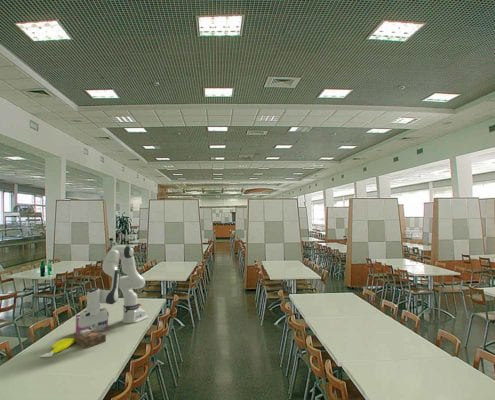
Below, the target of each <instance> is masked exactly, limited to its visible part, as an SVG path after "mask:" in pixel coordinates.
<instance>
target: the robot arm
mask: <svg viewBox="0 0 495 400" xmlns="http://www.w3.org/2000/svg"><path fill="white" fill-rule="evenodd" d="M134 253H135V249H134V248H133V246H131V245H123V244H122V245H121V244H120V245H112V246H109V247H108V248H107V250H106V256H105V257H104V260H103V263H102V271H103V273H105V274H106V275H107V276H110V277H111V287H110V289H100V288H99V287H91V288H90V289H88V291H87V293H86V303H87V306H86V309H85V310H82V311H81V312H79V315H80V318H79V322H78V326H79V327H80V328H84V327H87V326H90V328H91V331H93V330H96V327H97V325H98V323H99V322H103V321H106V320H107V319H108V320H109V316H108V317H107V312H108V308H105V307H102V308H101V304H108V305H115V303H116V302H118V300H119V289H120V290H121V292H122V295H123V296H122V297H123V304H122V305H123V306H122V307H123V309H122V310H123V313H122V319H121V323H123V324H131V323H132V324H133V323H134V324H136V323H140V322H141V321H144V320H146V319H147V318H149V315H147V314H146V311H145V310H144V309H142V307H141V306H142V303H138V294H137V293H136V292H134V290H133V289H135V290H138V289H143V287H144V286H145V285H146V279H145V278H144V277H143V276H142V275H141V274H140V273H139V272H138V270H137V266H136V262H135V260H136V259H135V257H134ZM119 263H120V264H121V271H122V273H123V274H125V275H122V276H121V271H120V270H119ZM93 324H94V325H95V326H94V327H92V326H93Z"/></svg>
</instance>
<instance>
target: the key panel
mask: <svg viewBox="0 0 495 400" xmlns="http://www.w3.org/2000/svg"><path fill="white" fill-rule="evenodd" d="M90 330H91V329H90ZM92 333H96V334H98V336H96V337H94V338H89V337H87V335H89V334H87V335H81V334H80V333H77V334H76V333H75V334H72V337H71V338H74V339H75V342H74V343H73V344H76V345H78V346H80V347H83V348H85V349H88V348H91V347H94V346H98V345H100V344H102V343H105V342H106V341H107V340H106V339H107V334H106V333H103V332H101V331H95V330H93V331H91V333H90V334H92Z"/></svg>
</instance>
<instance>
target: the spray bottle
mask: <svg viewBox="0 0 495 400" xmlns="http://www.w3.org/2000/svg"><path fill="white" fill-rule="evenodd" d="M74 342H75V339H74V338H72V337H71V338H70V337H69V338H68V337H67V338H63V339H60V340H59V341H57V342H56V343H54V344H53V345H52V350H50V352H45V354H42V355H39V357H40V358H51V357H53V355H54V354H57V353H59V352H61V351H64V350H66V349H68V348H69V347H70V346H72V345H73V344H75V343H74Z"/></svg>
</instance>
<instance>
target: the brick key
mask: <svg viewBox="0 0 495 400" xmlns="http://www.w3.org/2000/svg"><path fill="white" fill-rule="evenodd" d="M96 336H98V334H96V333H92V334H89V335H87V337H89V338H94V337H96Z"/></svg>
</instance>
